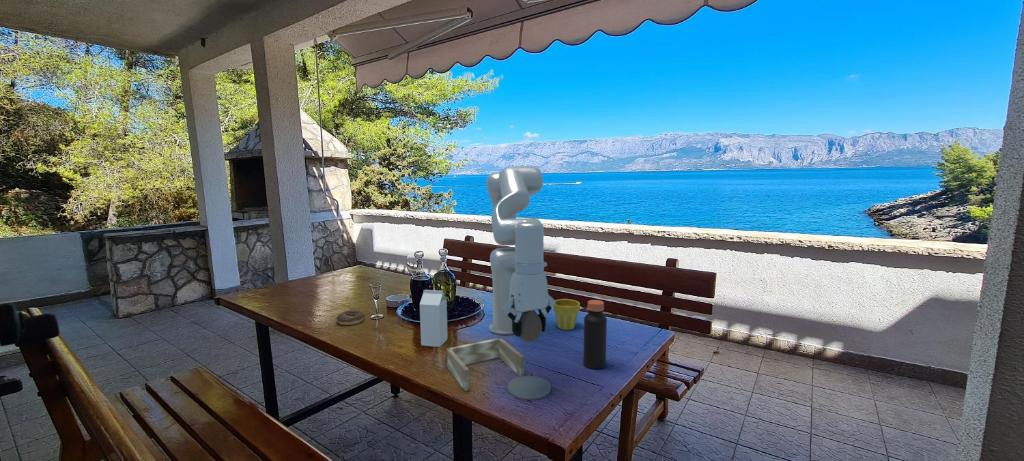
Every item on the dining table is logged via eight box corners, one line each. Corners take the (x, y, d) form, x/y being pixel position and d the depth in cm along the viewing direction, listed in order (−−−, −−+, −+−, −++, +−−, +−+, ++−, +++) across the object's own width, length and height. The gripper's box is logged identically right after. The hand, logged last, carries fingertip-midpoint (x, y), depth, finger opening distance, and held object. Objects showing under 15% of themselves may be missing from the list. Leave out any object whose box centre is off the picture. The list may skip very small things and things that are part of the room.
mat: (536, 374, 120) (536, 372, 120) (559, 392, 109) (559, 390, 109) (500, 383, 114) (500, 381, 114) (520, 404, 104) (520, 402, 104)
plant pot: (585, 328, 157) (585, 303, 156) (565, 333, 151) (565, 308, 150) (567, 320, 165) (567, 297, 164) (547, 325, 160) (547, 301, 158)
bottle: (601, 371, 121) (602, 306, 119) (579, 366, 125) (581, 303, 122) (608, 363, 127) (610, 301, 124) (588, 358, 131) (589, 297, 128)
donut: (355, 316, 173) (354, 306, 172) (370, 320, 166) (369, 311, 166) (331, 323, 164) (330, 313, 164) (346, 328, 158) (345, 318, 157)
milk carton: (440, 347, 139) (438, 293, 137) (420, 345, 141) (419, 292, 138) (447, 339, 146) (446, 288, 144) (429, 338, 148) (427, 287, 145)
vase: (515, 334, 113) (515, 304, 112) (539, 333, 114) (540, 303, 113) (517, 344, 106) (517, 312, 105) (543, 343, 107) (544, 311, 106)
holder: (500, 355, 133) (500, 337, 132) (524, 376, 119) (524, 356, 118) (446, 367, 125) (446, 348, 124) (465, 391, 110) (464, 370, 110)
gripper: (549, 262, 115) (548, 323, 117) (493, 268, 107) (494, 333, 109) (564, 267, 108) (563, 331, 111) (506, 274, 100) (506, 343, 103)
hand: (529, 332), depth 110 cm, fingers closed on vase, 6 cm apart
